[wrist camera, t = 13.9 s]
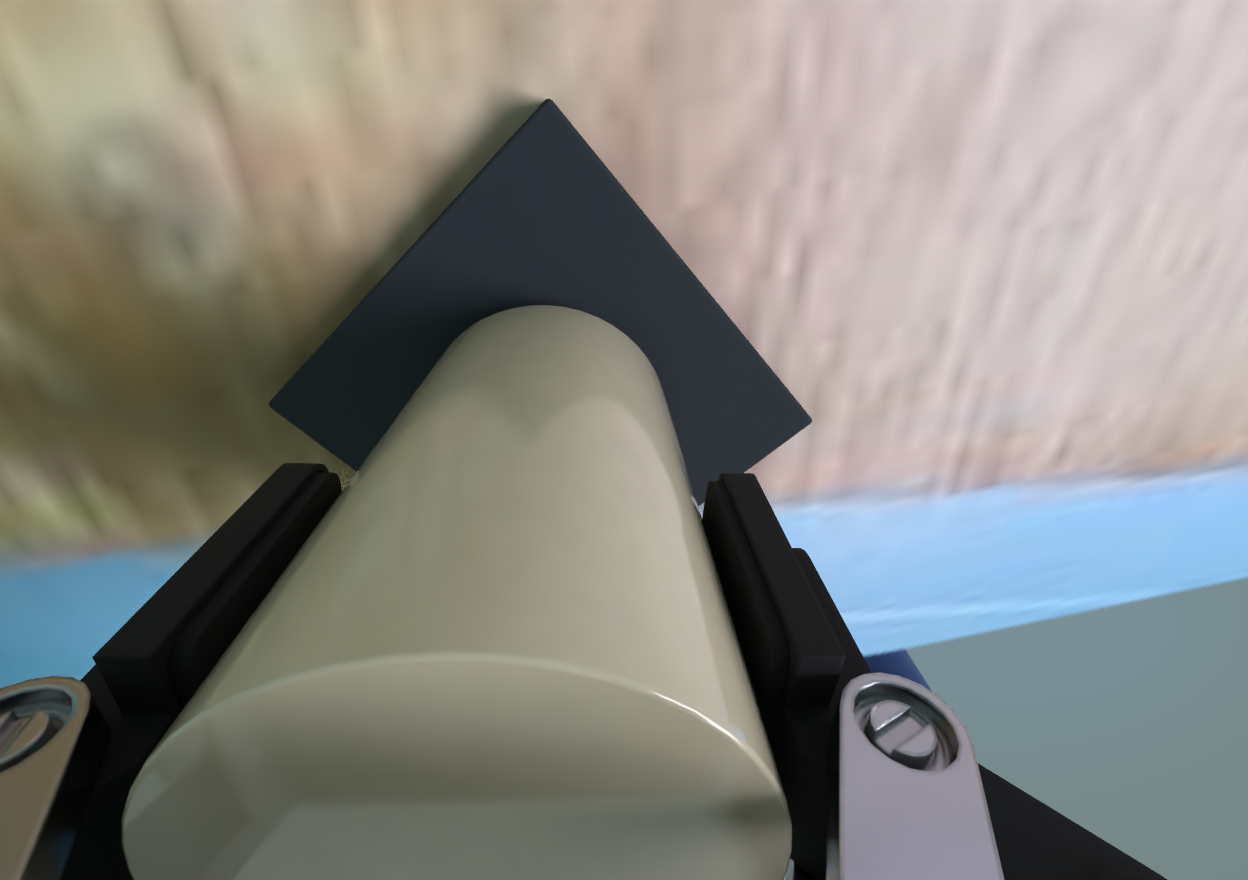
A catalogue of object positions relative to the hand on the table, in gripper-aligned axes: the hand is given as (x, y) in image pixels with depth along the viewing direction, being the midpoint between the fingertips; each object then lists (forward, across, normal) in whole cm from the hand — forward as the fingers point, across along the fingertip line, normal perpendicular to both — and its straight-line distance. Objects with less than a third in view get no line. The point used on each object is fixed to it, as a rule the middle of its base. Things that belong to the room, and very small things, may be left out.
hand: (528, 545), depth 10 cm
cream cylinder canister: (+5, 0, 0) cm, 5 cm away
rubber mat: (+6, 0, 0) cm, 6 cm away
